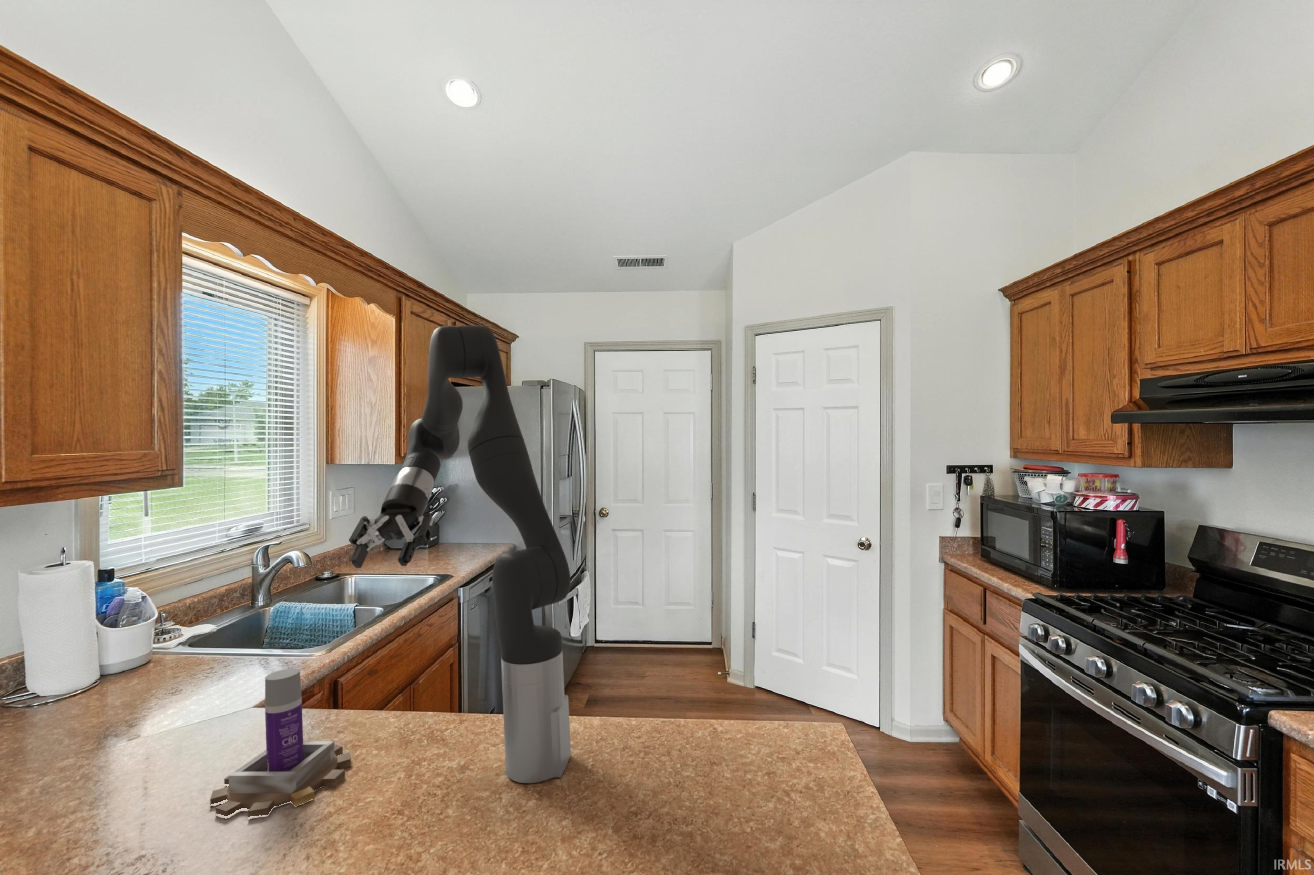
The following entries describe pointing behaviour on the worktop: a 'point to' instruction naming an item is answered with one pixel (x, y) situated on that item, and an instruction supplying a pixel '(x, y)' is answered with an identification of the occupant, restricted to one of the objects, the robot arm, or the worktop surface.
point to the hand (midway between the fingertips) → (378, 564)
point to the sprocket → (282, 780)
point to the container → (283, 720)
